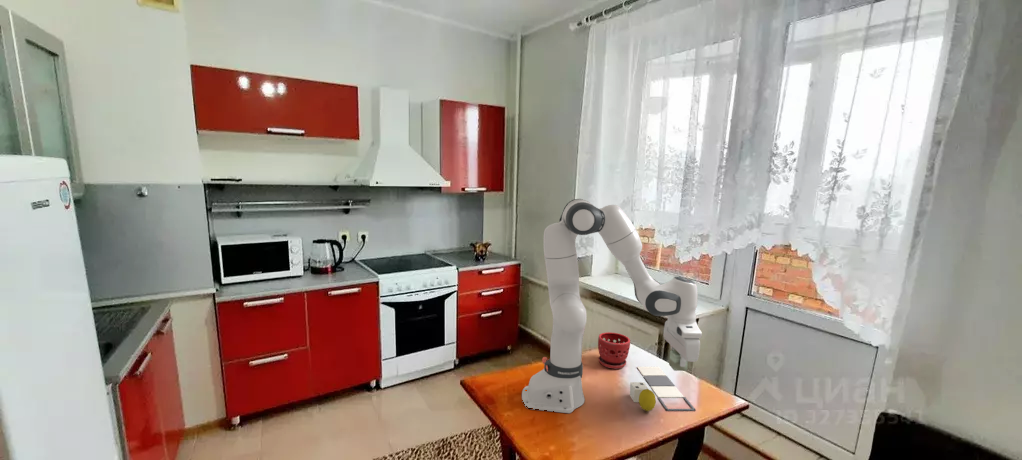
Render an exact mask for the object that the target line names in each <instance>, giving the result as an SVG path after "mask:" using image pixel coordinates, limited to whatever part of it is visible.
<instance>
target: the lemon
mask: <svg viewBox="0 0 1022 460" xmlns="http://www.w3.org/2000/svg"><path fill="white" fill-rule="evenodd" d="M656 403H657V399H656V394H655V392H654V391H653V390H651V389H649V388H648V389H645V390H643V391H641V393H640V395H639V402H638V404H639V406H640V408H641V409H642V410H644V411H645V412H649V411H653V409H654V408H655V407H656Z"/></svg>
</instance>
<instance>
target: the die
mask: <svg viewBox="0 0 1022 460" xmlns="http://www.w3.org/2000/svg"><path fill="white" fill-rule="evenodd" d="M629 386H630V387H629V396H630V398H631V400H632V401H633V402H634V403H639V395H640V393H641V391H643V390H645V389H649V387H648V385H646V383H645V382H643V381H642V382H641V381H630V385H629Z"/></svg>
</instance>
